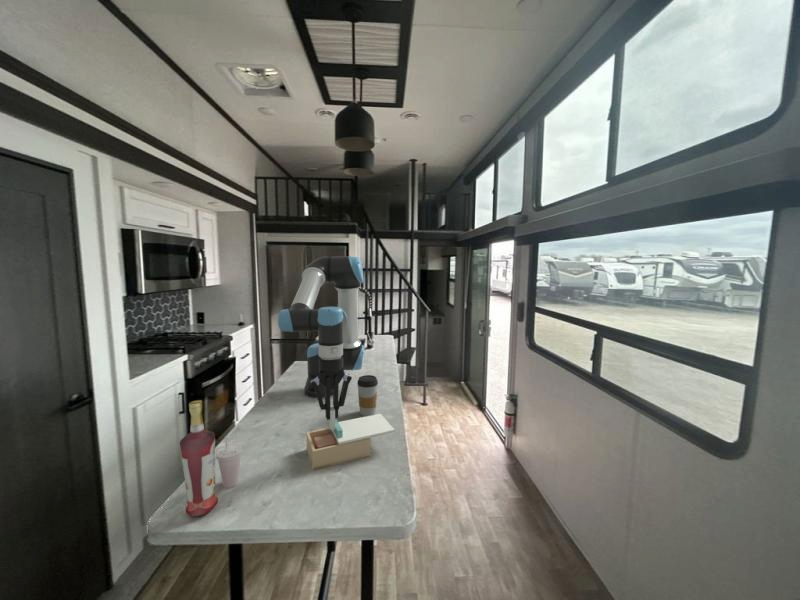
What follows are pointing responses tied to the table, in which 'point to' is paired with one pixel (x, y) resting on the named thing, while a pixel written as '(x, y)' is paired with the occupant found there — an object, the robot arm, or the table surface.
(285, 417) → the table surface
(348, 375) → the robot arm
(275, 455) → the table surface
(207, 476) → the liquor
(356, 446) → the box
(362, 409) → the coffee cup
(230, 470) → the smoothie
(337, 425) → the lid
